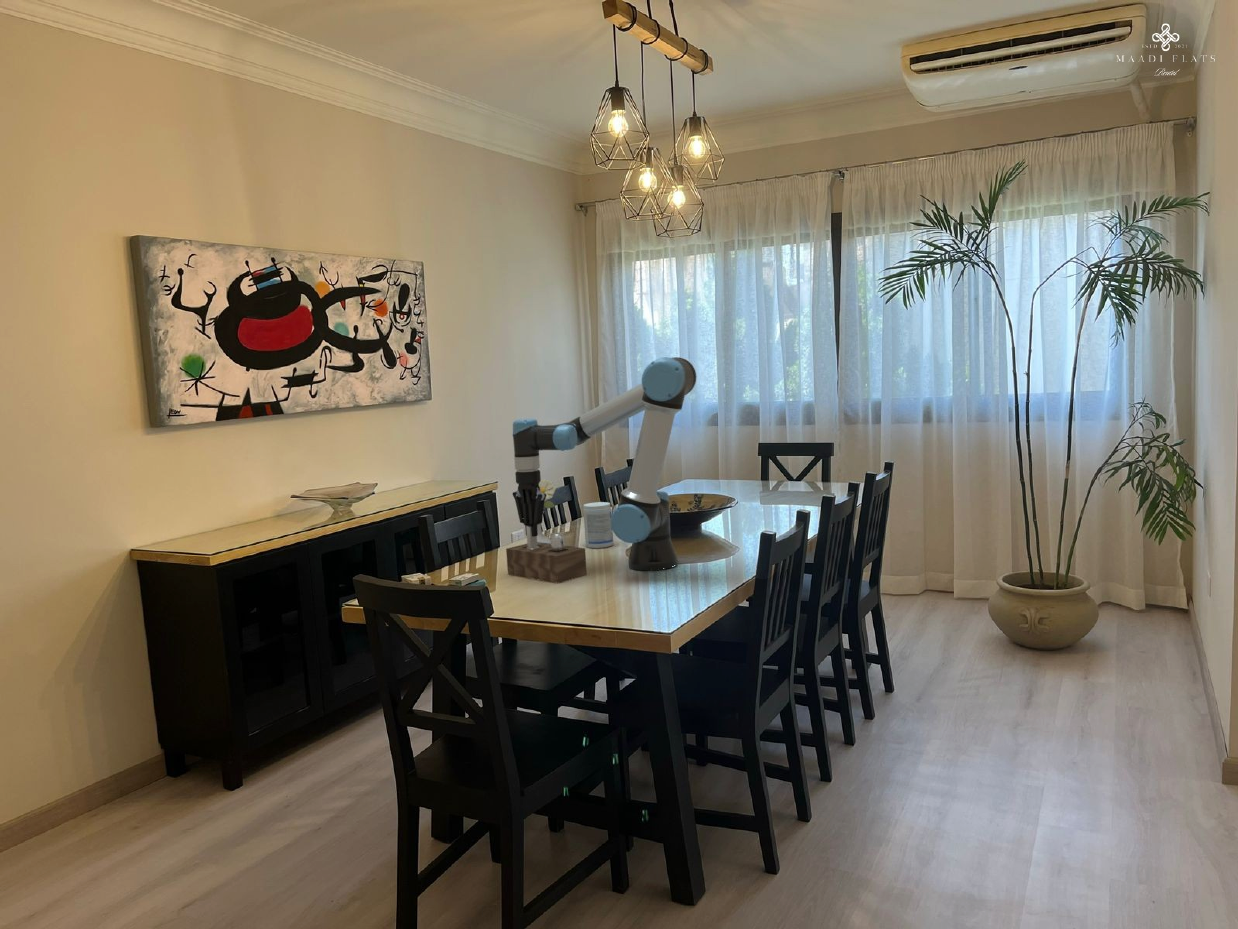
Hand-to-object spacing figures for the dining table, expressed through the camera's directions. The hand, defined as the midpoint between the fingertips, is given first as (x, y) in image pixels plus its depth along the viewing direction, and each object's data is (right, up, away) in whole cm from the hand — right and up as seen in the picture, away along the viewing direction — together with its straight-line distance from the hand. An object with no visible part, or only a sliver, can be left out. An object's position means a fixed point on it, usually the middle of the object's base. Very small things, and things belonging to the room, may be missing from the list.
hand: (532, 546), depth 279 cm
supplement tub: (+20, -3, +36) cm, 41 cm away
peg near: (+8, -3, -7) cm, 12 cm away
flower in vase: (0, -5, +31) cm, 31 cm away
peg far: (+1, -8, +1) cm, 8 cm away
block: (+5, -8, -3) cm, 10 cm away
